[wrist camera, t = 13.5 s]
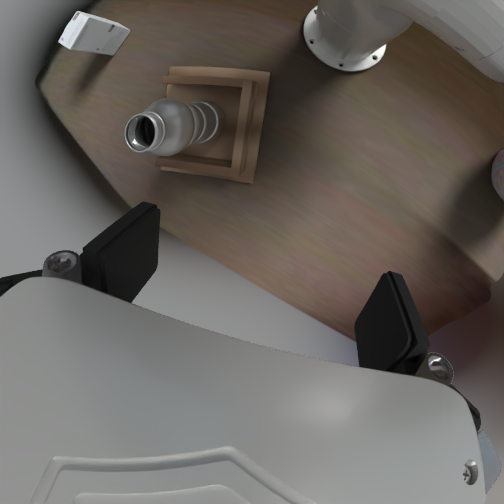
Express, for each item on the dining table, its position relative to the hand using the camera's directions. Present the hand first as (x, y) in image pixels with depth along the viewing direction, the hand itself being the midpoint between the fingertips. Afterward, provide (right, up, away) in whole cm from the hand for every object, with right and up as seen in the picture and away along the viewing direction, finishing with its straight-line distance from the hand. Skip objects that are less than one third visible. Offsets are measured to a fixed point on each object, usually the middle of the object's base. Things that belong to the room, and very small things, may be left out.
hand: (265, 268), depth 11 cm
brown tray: (-7, +21, +29) cm, 37 cm away
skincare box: (-25, +39, +23) cm, 52 cm away
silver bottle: (-7, +21, +29) cm, 36 cm away
